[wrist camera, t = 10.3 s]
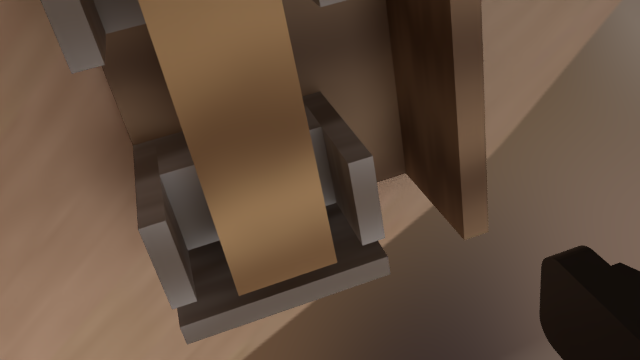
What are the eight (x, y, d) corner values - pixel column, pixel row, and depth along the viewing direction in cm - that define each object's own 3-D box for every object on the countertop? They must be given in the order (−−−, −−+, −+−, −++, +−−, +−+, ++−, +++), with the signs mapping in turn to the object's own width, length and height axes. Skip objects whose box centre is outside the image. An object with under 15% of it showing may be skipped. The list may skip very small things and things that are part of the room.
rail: (117, -79, 20) (117, -60, 16) (234, -107, 20) (262, -94, 17) (221, 231, 27) (238, 296, 23) (306, 204, 27) (337, 262, 23)
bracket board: (21, -153, 22) (-23, -148, 15) (374, -226, 24) (481, -252, 17) (170, 231, 32) (187, 344, 25) (414, 154, 34) (494, 238, 27)
